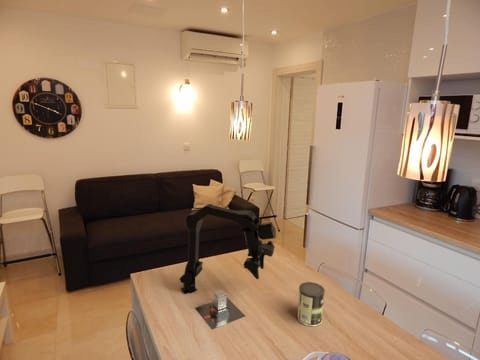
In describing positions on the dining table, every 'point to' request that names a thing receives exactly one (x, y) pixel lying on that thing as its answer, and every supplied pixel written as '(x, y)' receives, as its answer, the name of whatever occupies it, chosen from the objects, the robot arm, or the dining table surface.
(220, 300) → the post
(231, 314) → the stand base
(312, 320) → the coffee can
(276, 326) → the dining table surface
